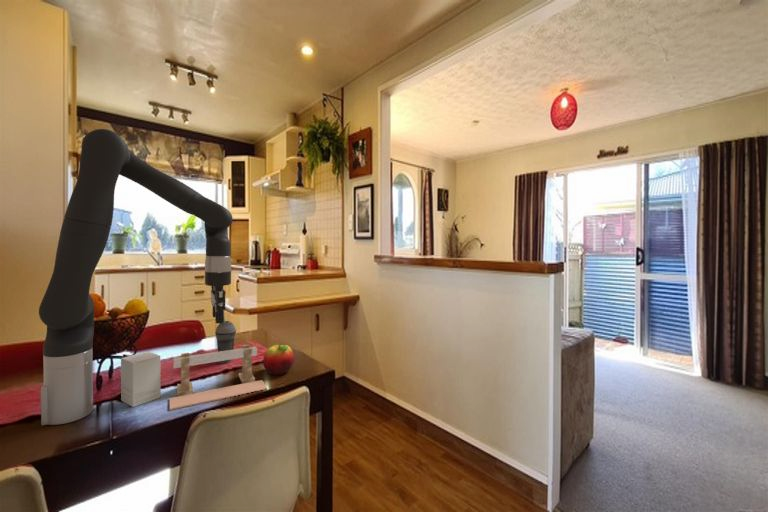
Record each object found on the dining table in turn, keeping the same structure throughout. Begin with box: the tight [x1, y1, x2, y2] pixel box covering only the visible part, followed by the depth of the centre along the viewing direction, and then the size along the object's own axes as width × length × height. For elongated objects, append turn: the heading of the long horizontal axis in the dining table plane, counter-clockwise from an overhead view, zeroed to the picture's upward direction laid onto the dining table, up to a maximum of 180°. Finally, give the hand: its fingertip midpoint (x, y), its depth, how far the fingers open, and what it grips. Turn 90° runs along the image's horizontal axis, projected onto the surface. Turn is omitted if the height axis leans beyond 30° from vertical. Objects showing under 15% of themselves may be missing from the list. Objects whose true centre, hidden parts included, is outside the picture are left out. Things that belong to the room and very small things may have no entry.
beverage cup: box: [214, 313, 237, 364], centre depth 126 cm, size 7×7×20 cm
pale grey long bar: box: [173, 346, 258, 369], centre depth 106 cm, size 24×2×2 cm, turn 123°
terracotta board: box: [169, 379, 268, 411], centre depth 100 cm, size 26×7×1 cm, turn 123°
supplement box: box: [120, 351, 162, 408], centre depth 96 cm, size 7×7×13 cm
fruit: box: [262, 343, 295, 376], centre depth 118 cm, size 11×11×10 cm
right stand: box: [238, 344, 256, 384], centre depth 111 cm, size 4×6×11 cm, turn 33°
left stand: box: [176, 352, 194, 397], centre depth 102 cm, size 4×6×11 cm, turn 33°
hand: (217, 319), depth 106 cm, fingers open, 8 cm apart
